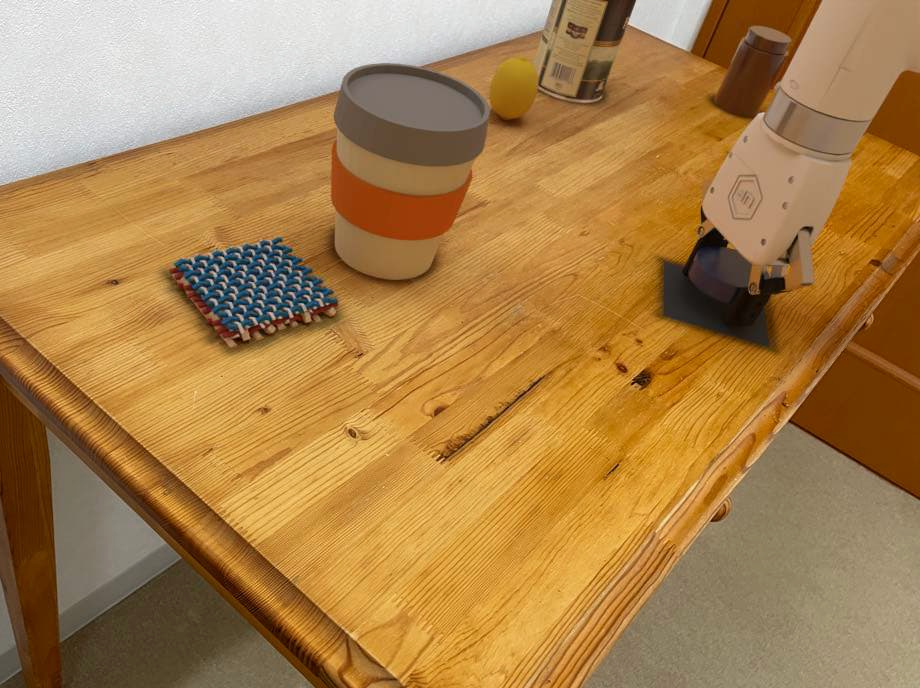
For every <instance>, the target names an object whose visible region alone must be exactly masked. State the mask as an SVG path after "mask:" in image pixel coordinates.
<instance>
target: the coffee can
mask: <svg viewBox="0 0 920 688" xmlns="http://www.w3.org/2000/svg"><path fill="white" fill-rule="evenodd" d="M636 3H637V0H552V1H551V4H550V7H549V10H548V15H547V18H546V21H545V24H544V28H543V31H542V35H541V38H540V41H539V44H538V49H537V50H536V51H537V52H536V55H535V59H534V61H533V65H534V67H535V68H536V71H537V73H538V90H539V91H541V92H542V93H545V94H547V95H549V96H552V97H554V98H557V99H560V100H563V101H567V102H573V103H580V104H590V103H595V102H598V101H600V100H601V99H602V98H603V94H604V90H605V88H606V86H607V82H608V80H609V76H610V74H611V71H612V68H613V66H614V63H615V60H616V58H617V55H618V52H619V49H620V47H621V43H622V41H623V38H624V36H625V32H626V30H627V27H628V24H629V22H630V19H631V16H632V13H633V11H634V8H635V5H636Z"/></svg>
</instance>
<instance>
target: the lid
mask: <svg viewBox="0 0 920 688" xmlns="http://www.w3.org/2000/svg"><path fill="white" fill-rule="evenodd" d="M751 268H752V264H751V263H749V262H748V261H747V260H746V259H745V258H744V257H743V256H742V255H741V254H740V253H739V252H738V251H737V250H736V249H735V248H731V247H728V246H727V247H723V246H707V247H703V248H701V249H700V250H699V251H698V252H697V254H696V256H695V258H694V260H693V262H692V264H691V266H690V268H689V270H688V274H689V278H690V280H691V281H692V283H693V284H694V285H695V286H696V287H697V288H698V289H699V290H701V291H702V292H703V293H705V294H706V295H708V296H710V297H712V298H714V299H716V300H719V301H721V302H724V303H728V304H732V302H733V300H734V298H735V297H736V295H737V293H738V291H739V290H740V289H741V288H742V287H748V284H749V279H750V273H751ZM765 279H770V273H769V271H768V269H766V272H765V278H764V280H765Z"/></svg>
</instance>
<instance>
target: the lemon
mask: <svg viewBox="0 0 920 688" xmlns="http://www.w3.org/2000/svg"><path fill="white" fill-rule="evenodd" d="M538 90H539V89H538V73H537V71H536V68H535V67H534V63H532V61H530V60H528V57H527V56H525V55H519V56H516V57H515V56H514V57H511V58H509V59H507V60H505V61H503V62H502V63H501V64H500V66H499V67H498V68H497V70H496V71H495V73H494V75H493V77H492V80H491V82H490V87H489V102H490V106H491V108H492V111H494V112H495V114H497V115H499V117H500V119H502V120H503V121H510V120H515V119H519V118H521V117H523V116H524V115H525V114H527V112H529V111H530V109H531V108H532V107H533V105H534V102H535V100H536V98H537V93H538Z"/></svg>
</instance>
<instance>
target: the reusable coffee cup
mask: <svg viewBox="0 0 920 688" xmlns="http://www.w3.org/2000/svg"><path fill="white" fill-rule="evenodd" d="M339 88H340V89H339V92H338V97H337V101H336V104H335V108H334V113H333V120H334V124H335V126H336V139H335V140H334V142H333V143H332V147H331V163H330V164H331V167H330V168H331V169H330V171H331V172H330V199H331V204H332V206H333V208H334V209H335V210H334V211H335V212H334V213H335V215H334V249H335V251H336V253H337V255H338V256H339V258H340V259H341V260H342V261H343V262H344V263H345V264H346V265H348V266H349V267H351V268H352V269H354V270H356V271H357V272H359V273H362V274H364V275H367V276H370V277H374V278H378V279H384V280H391V281H394V280H395V281H398V280H399V281H400V280H401V281H403V280H409V279H413V278H416V277H419V276H422V275H423V274H424V273H426V272H427V271H428V270H429V269H430V268H431V266H432V263H433V262H434V258H435V256H436V254H437V252H438V249H439V246H440V245H441V241H442V240H443V238H444V234H445V233H447V232H448V231H450V230H451V228H452V227H453V225H454V223H455V221H456V218H457V216H458V214H459V211H460V209H461V206H462V204H463V202H464V200H465V197H466V195H467V192H468V191H469V188H470V185H471V183H472V181H473V170H472V168H473V166H474V163H475V160H476V158H478V157H479V156H480V155H481V154H482V153H483V151H484V149H485V147H486V142H487V141H486V140H487V135H488V128H489V122H490V116H491V109H490V105H489V103H488V101H487V99H485V97H484V96H483V95H482V94H481V93H480V92H478V91H477V90H476V89H475V88H473V86H470V85H469V84H467V83H465V82H463V81H462V80H460V79H458V78H456V77H454V76H451V75H448V74H445V73H443V72H440V71H437V70H433V69H430V68H426V67H421V66H416V65H411V64H403V63H391V62H390V63H389V62H382V63H370V64H364V65H360V66H358V67H355V68H352V69H351V70H350V71H348V72H347V73H346V74H344V76H343V78H342V81H341V84H340V87H339Z"/></svg>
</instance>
